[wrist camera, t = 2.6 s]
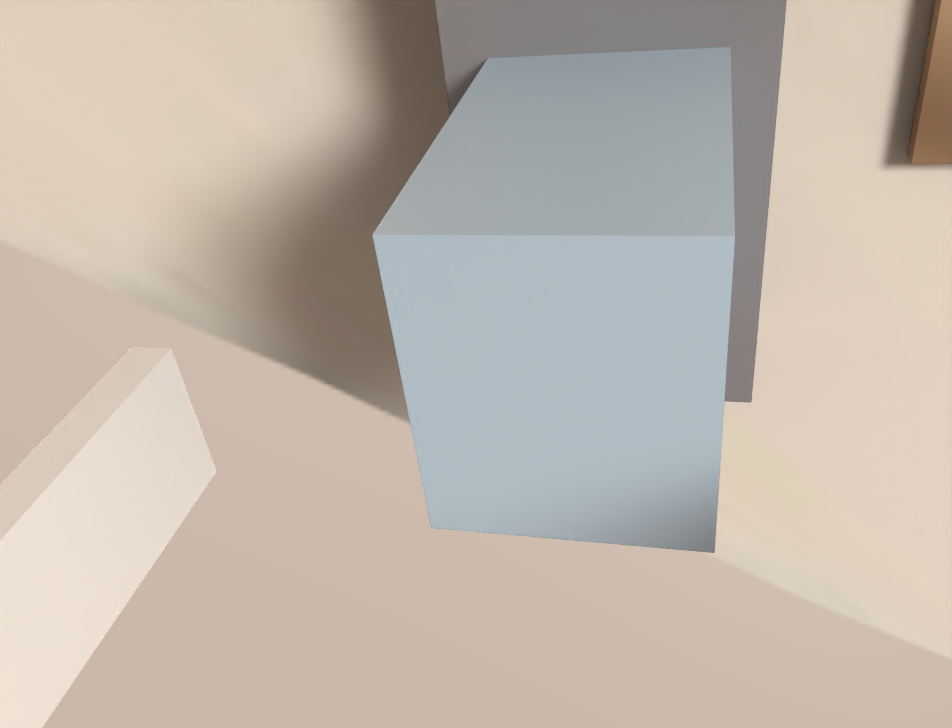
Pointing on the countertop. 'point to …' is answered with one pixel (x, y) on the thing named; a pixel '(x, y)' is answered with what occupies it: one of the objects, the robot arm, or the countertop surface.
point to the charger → (571, 298)
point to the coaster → (935, 94)
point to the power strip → (646, 29)
